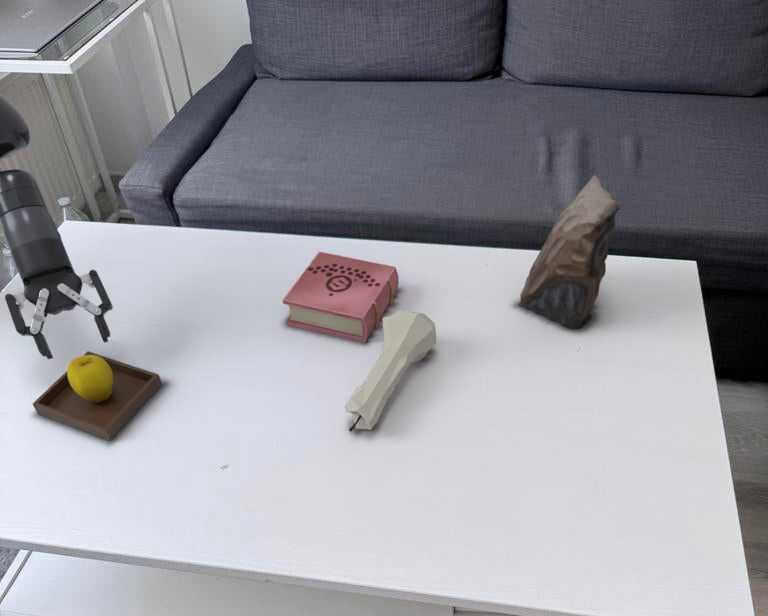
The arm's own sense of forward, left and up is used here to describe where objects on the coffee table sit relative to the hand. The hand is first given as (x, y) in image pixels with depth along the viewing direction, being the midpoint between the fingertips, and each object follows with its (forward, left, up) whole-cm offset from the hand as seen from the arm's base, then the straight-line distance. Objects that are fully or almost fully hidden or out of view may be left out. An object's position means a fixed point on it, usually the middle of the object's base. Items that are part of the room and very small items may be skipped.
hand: (78, 349), depth 114 cm
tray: (+4, -3, -7) cm, 8 cm away
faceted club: (+44, +17, -7) cm, 47 cm away
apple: (+4, -3, -6) cm, 8 cm away
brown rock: (+62, +47, -7) cm, 78 cm away
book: (+29, +32, -7) cm, 44 cm away
